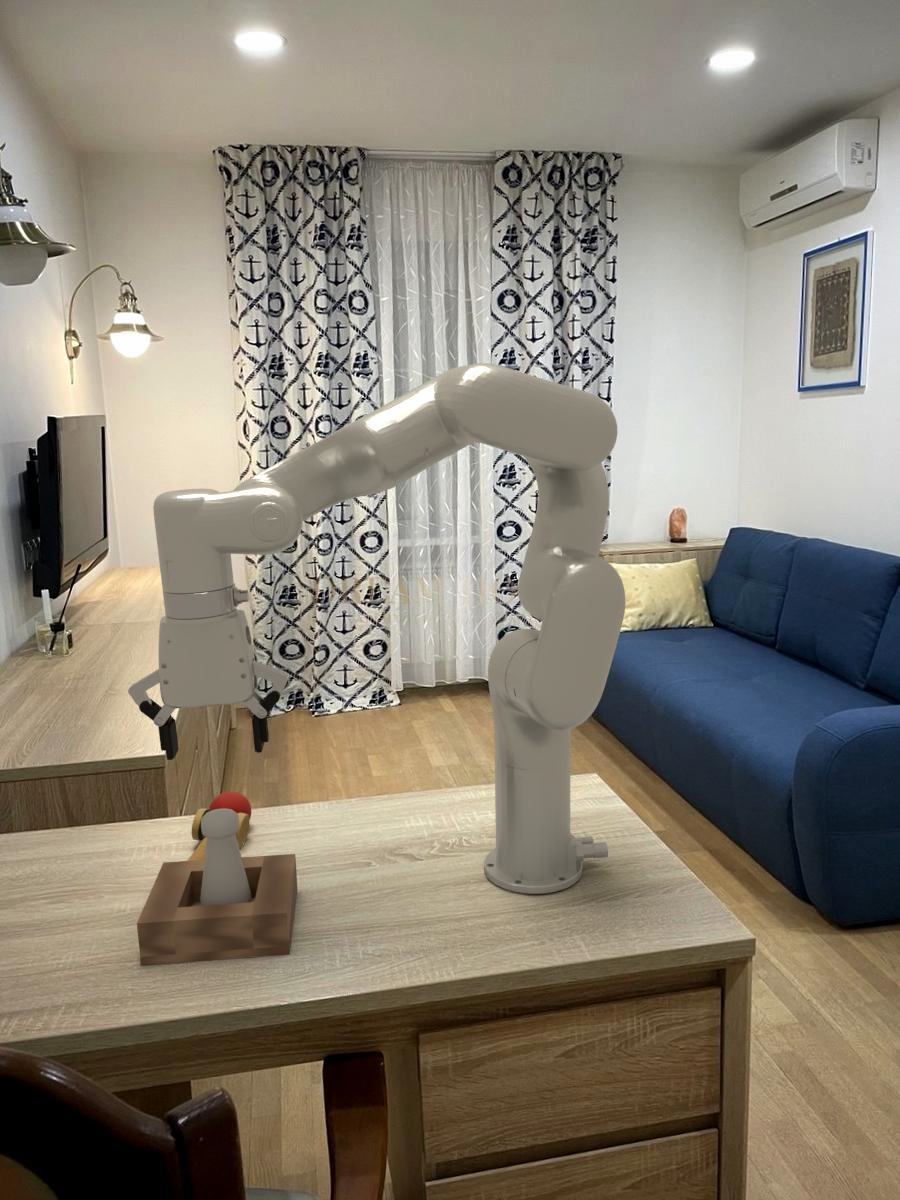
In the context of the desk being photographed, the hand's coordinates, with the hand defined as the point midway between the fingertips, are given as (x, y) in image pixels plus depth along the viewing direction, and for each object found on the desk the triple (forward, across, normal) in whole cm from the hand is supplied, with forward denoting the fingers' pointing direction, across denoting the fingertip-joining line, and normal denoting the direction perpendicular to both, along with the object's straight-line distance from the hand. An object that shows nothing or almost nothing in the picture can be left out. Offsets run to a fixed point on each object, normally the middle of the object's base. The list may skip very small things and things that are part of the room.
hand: (216, 752), depth 105 cm
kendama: (+22, +5, -19) cm, 30 cm away
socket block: (+21, +1, 0) cm, 21 cm away
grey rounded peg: (+20, +1, 0) cm, 21 cm away
